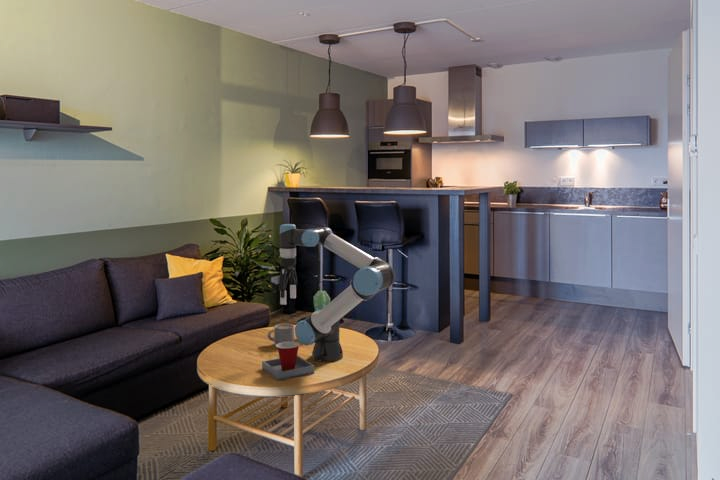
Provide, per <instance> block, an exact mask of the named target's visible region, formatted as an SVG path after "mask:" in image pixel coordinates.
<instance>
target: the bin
mask: <svg viewBox="0 0 720 480" xmlns="http://www.w3.org/2000/svg"><path fill="white" fill-rule="evenodd" d="M261 368H262V370H263V371H265V372H266V373H267V374H268V375H270V376H271V377H273V378H274V379H275V380H276V381H283V380H287V379H289V380H290V379H294V378H299V377H304V376H307V375H313V374H315V365H314V364H313V363H312V362H309V361H308V360H305V359H304V358H303V357H301V356H299V355H298V354H297V359H296V365H295V369H292V370H287V371H283V370H282V368H281V363H280V357H278V358H273V359H268V360H263V361H261Z"/></svg>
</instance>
